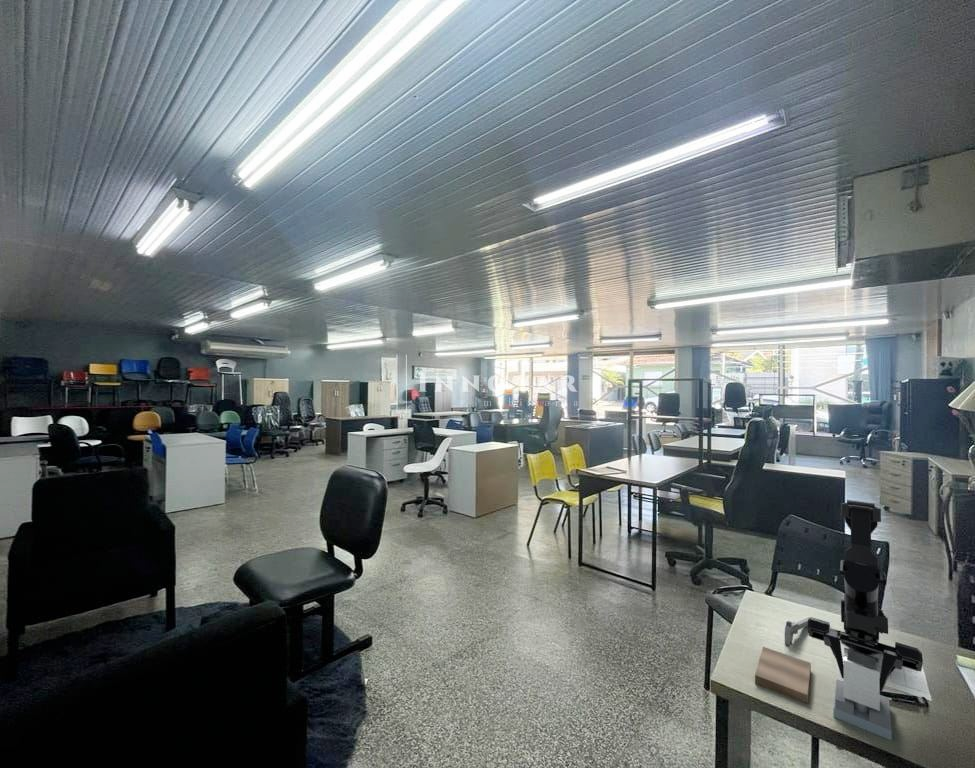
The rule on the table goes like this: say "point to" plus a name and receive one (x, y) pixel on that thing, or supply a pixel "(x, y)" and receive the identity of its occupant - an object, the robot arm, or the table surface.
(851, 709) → the vise
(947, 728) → the table surface
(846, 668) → the steel sleeve
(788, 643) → the caliper
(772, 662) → the walnut board
